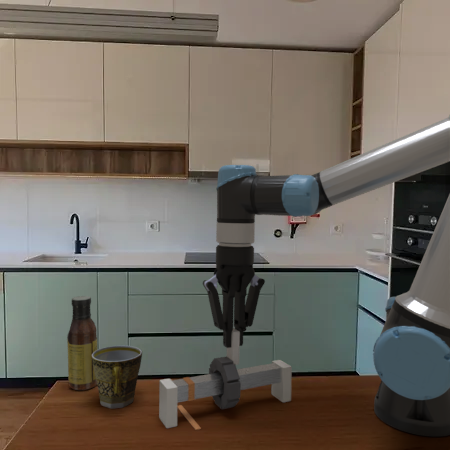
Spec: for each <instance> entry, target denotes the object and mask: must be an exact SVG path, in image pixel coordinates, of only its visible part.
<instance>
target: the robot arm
mask: <svg viewBox="0 0 450 450" xmlns="http://www.w3.org/2000/svg"><path fill="white" fill-rule="evenodd" d="M449 162H450V114H449V116H448V117H446V118H444V119H441V120H439V121H437V122H435V123H432V124H430V125H427V126H425V127H423V128H420V129H418V130H416V131H413V132H410V133H409V134H406V135H404V136H401V137H399V138H397V139H395V140H392V141H389V142H388V143H385V144H382V145H380V146H378V147H376V148H373V149H371V150H368V151H366V152H363V153H361V154H359V155H356V156H354V157H351V158H350V159H347V160H345V161H342V162H340V163H338V164H335V165H332V166H331V167H328V168H325V169H323V170H321V171H320V172H317V173H314V174H312V175H311V174H309V175H307V174H298V173H297V174H296V173H295V174H286V175H282V174H281V175H259V174H258V175H257V170H256V168H255V167H254V166H253V165H249V164H248V165H246V164H226V165H225V164H224V165H222V166H220V168H219V169H218V172H217V173H218V174H217V186H216V192H217V193H216V195H217V196H216V199H217V200H216V203H217V204H216V209H217V210H216V212H217V213H216V214H217V215H216V232H215V233H216V236H215V238H216V241H215V242H217V243H218V244H217V245H216V246H215V269H214V272H213V276H212V277H211V278H209V279H207V280H206V279H205V280H203V281H202V285H203V287H204V289H205V290H206V292H207V298H208V302H209V305H210V311H211V316H212V321H213V324H214V325H213V326H214V327H215V328H217V329H218V330H220V331H222V344H223V347H225V348H226V356H225V357H228V358H229V359H231V360H232V361H233V364H235V365H239V364H240V347H242V346H243V345H244V332H246V330H247V328H248V327H252V326H253V324H254V319H255V316H256V315H255V314H256V310H257V305H258V302H259V298H260V293H261V290H262V288H263V287H264V285H265V282H266V281H265V278H262V277H259V276H257V275H256V272H255V269H254V262H255V247H254V246H253V245H252V244H254V243H255V225H256V224H255V223H256V218H255V217H256V215H257V216H262V215H265V216H279V217H280V216H287V217H289V216H290V217H296V218H297V217H301V218H302V217H310V216H313V215H317V214H318V213H320V212H321V211H322V210H325V209H327V208H330V207H333V206H335V205H337V204H340V203H342V202H345V201H348V200H350V199H354V198H356V197H358V196H362V195H364V194H366V193H370V192H372V191H374V190H376V189H381V188H382V187H385V186H387V185H390V184H393V183H396V182H398V181H401V180H403V179H406V178H409V177H413V176H415V175H417V174H419V173H422V172H425V171H427V170H431V169H432V168H435V167H438V166H440V165H444V164H446V163H449ZM440 213H441V214H440V216H439V218H438V220H437V223H436V226H435V228H434V231H433V234H432V236H431V238H430V240H429V242H428V244H427V247H426V249H425V253H424V254H423V257H422V259H421V262H420V265H419V267H418V269H417V271H416V274H415V277H414V278H413V281H412V283H411V285H410V288H409V290H408V291H407V292H403V293H402V294H399V295H396V296H391V297H389V298H388V299H387V301H386V307H385V309H384V310H385V313H386V317H385V322H384V325H383V327H382V329H381V333H380V335H379V336H378V337H377V338H376V340H375V342H374V344H373V348H372V352H373V353H372V355H373V356H372V359H373V365H374V368H375V370H376V373H377V375H378V377H379V378H380V380H381V381H380V383H379V386H378V389H377V392H376V394H375V397H374V403H373V405H374V407H373V409H374V413H375V415H376V416H377V418H378V419H379V420H380V421H382V422H383V423H384V424H386V425H388V426H390V427H392V428H394V429H396V430H399V431H402V432H405V433H408V434H413V435H415V436H422V437H433V438H434V437H435V438H437V437H438V438H440V437H448V436H450V193H449V194H448V197H447V199H446V202H445V204H444V207H443V209H442V212H440ZM218 285H219V287H220V288H221V295H222V307H221V301H220V296H219V293H218V290H217V289H218ZM249 285H250V286H249ZM248 286H249V288H248ZM247 289H248V292H247Z"/></svg>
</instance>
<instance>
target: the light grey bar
mask: <svg viewBox="0 0 450 450" xmlns="http://www.w3.org/2000/svg"><path fill="white" fill-rule="evenodd" d="M237 371H238V374H239V377H240V379H239V380H238V381H240V382H241V385H240V391H244V390H249V389H254V388H258V387H264V386H269V385H270V386H271V385H272V384H275V383H280V382H281V377H282V368H281V367H279V366H278V365H276V364H274V363H272V362H271V363H267V364H260V365H254V366H250V367H249V366H248V367H243V368H237ZM171 380H172V382H173V383H174V384H175V385H176V386H177V387H178V392H177V404H178V403H182V402H183V403H184V402H186V401H188V402H190V401H195V400H198V399H203V398H208V397H212V396H214V395H219V394H224V381H223V378H222V375H221V372H219V373H213V374H209V373H208V374H204V375H203V374H202V375H197V376H191V377H190V376H186V377H182V378H179V379H174V380H173V379H171Z"/></svg>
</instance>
